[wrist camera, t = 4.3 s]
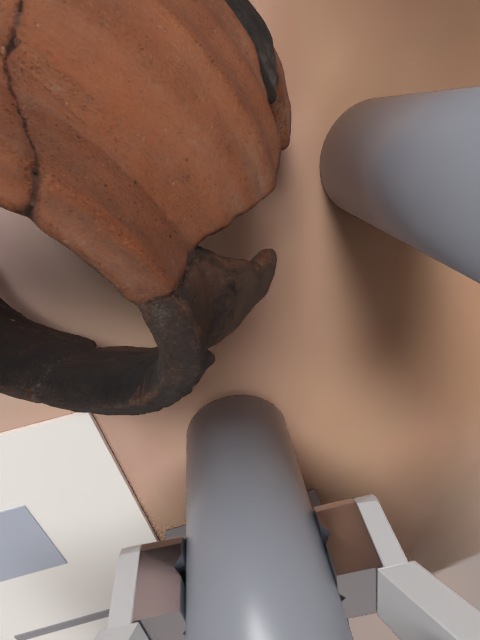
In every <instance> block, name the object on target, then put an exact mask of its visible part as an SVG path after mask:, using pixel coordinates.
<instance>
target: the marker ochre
mask: <svg viewBox="0 0 480 640" xmlns="http://www.w3.org/2000/svg"><path fill="white" fill-rule="evenodd" d="M320 175H321V181H322V184H323V187H324V189H325V191H326V193H327V195H328V196H329V198H330V199H331V200H332V201H333V202H334V204H336V205H337V206H338V207H339V208H341V209H343V210H345V211H346V212H348V213H350V214H352V215H354V216H356V217H358V218H359V219H361V220H363V221H365V222H367V223H369V224H370V225H372V226H374V227H376V228H378V229H380V230H382V231H383V232H385V233H387V234H389V235H391V236H393V237H395V238H396V239H398V240H400V241H402V242H404V243H406V244H408V245H409V246H411V247H413V248H415V249H417V250H419V251H421V252H422V253H424V254H426V255H428V256H430V257H432V258H434V259H435V260H437V261H439V262H441V263H443V264H445V265H447V266H448V267H450V268H452V269H454V270H456V271H458V272H460V273H461V274H463V275H465V276H467V277H469V278H471V279H472V280H474V281H476V282H478V283H480V86H478V87H469V88H460V89H451V90H442V91H434V92H425V93H416V94H407V95H398V96H389V97H380V98H373V99H368V100H365V101H362V102H360V103H358V104H356V105H354V106H352V107H351V108H349V109H348V110H347V111H346V112H344V113H343V114H342V115H341V116H340V117H339V118H338V119H337V121H336V122H335V123H334V125H333V126H332V127H331V129H330V131H329V133H328V134H327V137H326V139H325V141H324V144H323V147H322V151H321V156H320Z"/></svg>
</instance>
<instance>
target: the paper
mask: <svg viewBox="0 0 480 640" xmlns="http://www.w3.org/2000/svg"><path fill="white" fill-rule="evenodd" d="M156 541H159V540H158V538H157V536H156V534H155V532H154V530H153V529H152V527H151V525H150V523H149V521H148V519H147V517H146V515H145V513H144V511H143V510H142V508H141V506H140V504H139V502H138V500H137V498H136V496H135V494H134V493H133V491H132V489H131V487H130V485H129V483H128V481H127V479H126V477H125V476H124V474H123V472H122V470H121V468H120V466H119V464H118V462H117V460H116V458H115V457H114V455H113V453H112V451H111V449H110V447H109V445H108V443H107V441H106V440H105V438H104V436H103V434H102V432H101V430H100V428H99V426H98V424H97V423H96V421H95V419H94V417H93V415H92V413H80V412H77V413H73V414H69V415H66V416H62V417H58V418H54V419H51V420H47V421H43V422H40V423H36V424H32V425H28V426H25V427H21V428H17V429H13V430H10V431H6V432H2V433H0V640H94V639H95V637H96V636H97V634H98V633H99V631H100V630H103V629H106V628H107V623H108V617H109V611H110V605H111V598H112V592H113V586H114V580H115V574H116V567H117V561H118V556H119V554H120V552H121V549H123V548H127V547H131V546H136V545H140V544H147V543H152V542H156Z"/></svg>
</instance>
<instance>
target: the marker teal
mask: <svg viewBox="0 0 480 640" xmlns="http://www.w3.org/2000/svg"><path fill="white" fill-rule="evenodd" d="M185 640H353V637H352V634H351V631H350V627H349V624H348V621H347V618H346V615H345V611H344V608H343V605H342V602H341V599H340V595H339V592H338V590H337V587H336V584H335V580H334V577H333V574H332V571H331V568H330V565H329V561H328V557H327V554H326V551H325V548H324V544H323V541H322V539H321V536H320V533H319V529H318V526H317V523H316V520H315V516H314V512H313V509H312V506H311V503H310V500H309V496H308V493H307V490H306V487H305V484H304V480H303V477H302V474H301V471H300V468H299V464H298V461H297V458H296V455H295V452H294V448H293V445H292V442H291V439H290V436H289V432H288V429H287V426H286V423H285V420H284V417H283V415H282V414H281V412H280V411H279V410H278V408H277V407H276V406H274V405H273V404H272V403H270V402H268V401H267V400H264V399H262V398H259V397H255V396H249V395H234V396H227V397H224V398H220V399H218V400H215V401H213V402H211V403H209V404H207V405H206V406H204V407H203V408H202V409H201V410H199V411H198V412H197V413H196V415H195V416H194V417H193V419H192V420H191V422H190V424H189V426H188V429H187V443H186V639H185Z"/></svg>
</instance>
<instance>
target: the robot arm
mask: <svg viewBox="0 0 480 640" xmlns="http://www.w3.org/2000/svg"><path fill="white" fill-rule="evenodd" d="M313 512H314V516H315V520H316V523H317V526H318V529H319V533H320V536H321V539H322V541H323V544H324V548H325V551H326V554H327V557H328V561H329V565H330V568H331V571H332V574H333V577H334V580H335V584H336V587H337V590H338V592H339V595H340V599H341V602H342V605H343V608H344V611H345V615H346V618H352V617H357V616H363V615H368V614H373V613H377V615H378V616H379V617H380V618H381V620H383V622H384V623H385V624H386V625H387V626H388V627H389V628H390V629H391V630H392V631H393V632H394V633H395V634H396V636H397V637H398V638H400V640H480V611H479V610H478V609H476V608H475V607H474V606H472V605H471V604H470V603H468V602H467V601H466V600H465V599H463V598H462V597H461V596H460V595H458V594H457V593H456V592H455V591H453V590H452V589H451V588H449V587H448V586H447V585H446V584H444V583H443V582H442V581H440V580H439V579H438V578H437V577H435V576H434V575H433V574H431V573H430V572H429V571H428V570H426V569H425V568H424V567H422V566H421V565H420V564H419V563H417V562H416V561H415V560H414V561H408V560H407V558H406V556H405V554H404V552H403V550H402V548H401V546H400V544H399V542H398V540H397V538H396V536H395V534H394V532H393V529H392V527H391V525H390V523H389V521H388V519H387V517H386V515H385V513H384V511H383V509H382V507H381V505H380V503H379V501H378V499H377V498H376V497H375V496H374V495H373V494H369V495H365V496H361V497H356V498H349V499H345V500H341V501H337V502H333V503H328V504H324V505H320V506H316V507H314V508H313ZM185 639H186V538H185V536H180V537H175V538H171V539H166V540H161V541H156V542H152V543H147V544H140V545H136V546H131V547H127V548H123V549H121V552H120V554H119V556H118V561H117V567H116V574H115V580H114V586H113V592H112V598H111V605H110V611H109V617H108V623H107V628H106V629H103V630H100V631H99V633H98V634H97V636H96V637H95V639H94V640H185Z"/></svg>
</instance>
